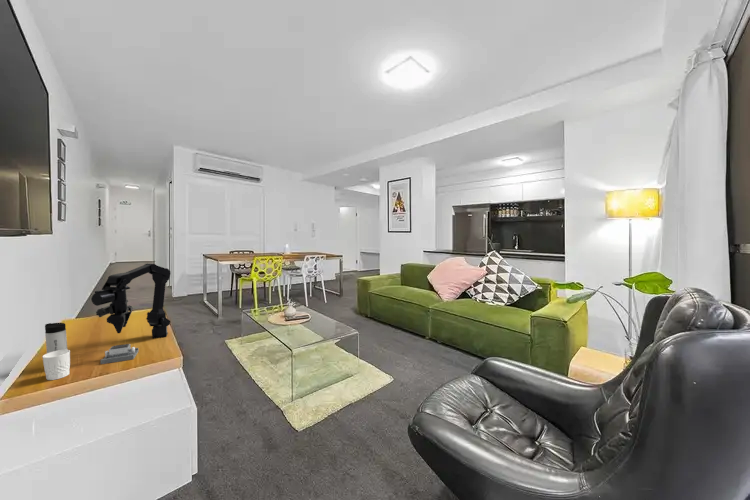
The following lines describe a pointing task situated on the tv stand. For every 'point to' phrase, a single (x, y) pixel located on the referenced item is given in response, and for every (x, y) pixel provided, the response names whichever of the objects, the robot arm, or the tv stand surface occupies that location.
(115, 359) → the tray
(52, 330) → the travel mug
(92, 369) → the tv stand surface
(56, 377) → the white cup
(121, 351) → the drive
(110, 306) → the robot arm
